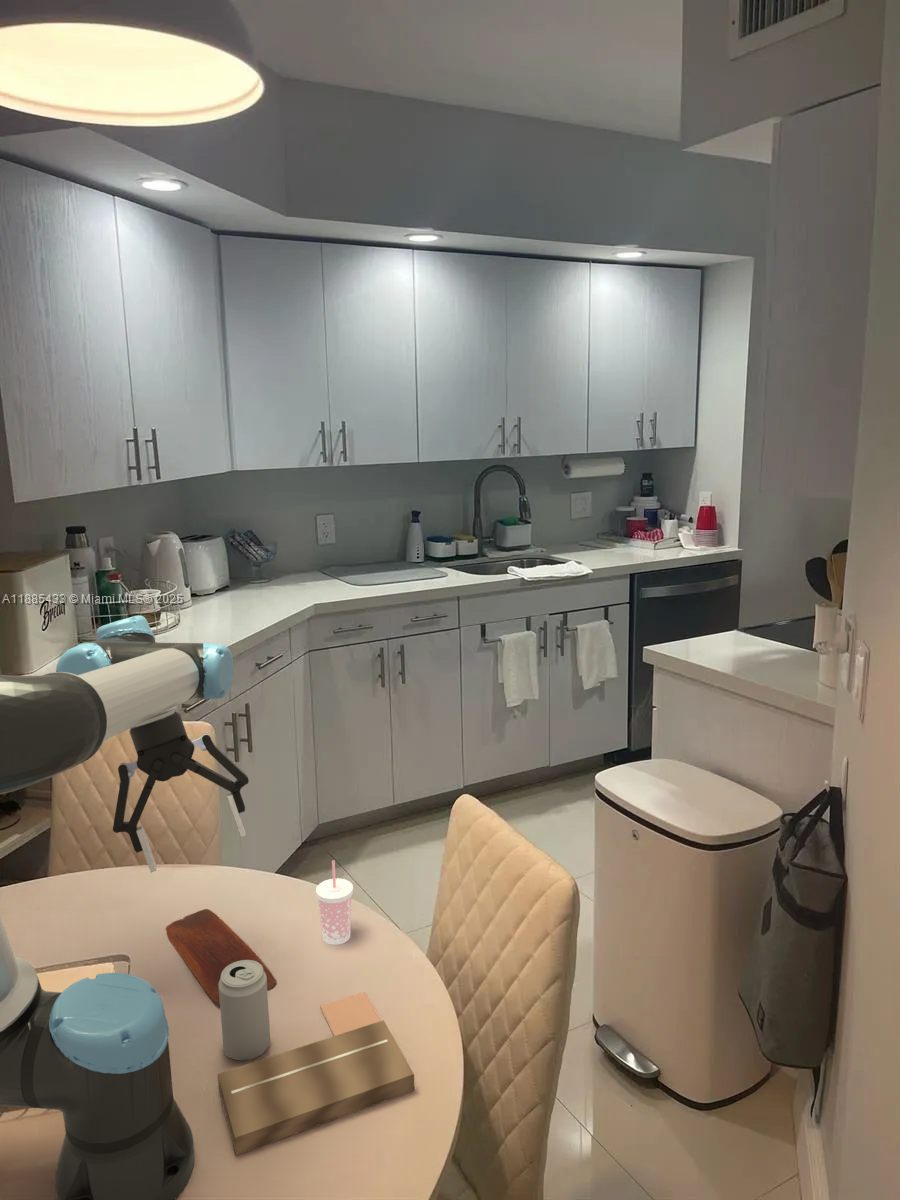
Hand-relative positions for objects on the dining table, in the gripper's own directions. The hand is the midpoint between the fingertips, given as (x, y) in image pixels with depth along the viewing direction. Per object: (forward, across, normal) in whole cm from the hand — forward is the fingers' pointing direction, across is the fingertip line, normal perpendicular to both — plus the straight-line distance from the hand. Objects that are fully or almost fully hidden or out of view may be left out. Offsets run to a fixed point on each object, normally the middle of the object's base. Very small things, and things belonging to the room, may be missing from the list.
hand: (199, 851), depth 131 cm
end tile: (+28, -13, +9) cm, 33 cm away
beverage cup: (+24, -15, -9) cm, 30 cm away
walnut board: (+30, -6, +22) cm, 37 cm away
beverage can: (+26, +2, +11) cm, 28 cm away
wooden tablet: (+20, +4, -11) cm, 23 cm away
